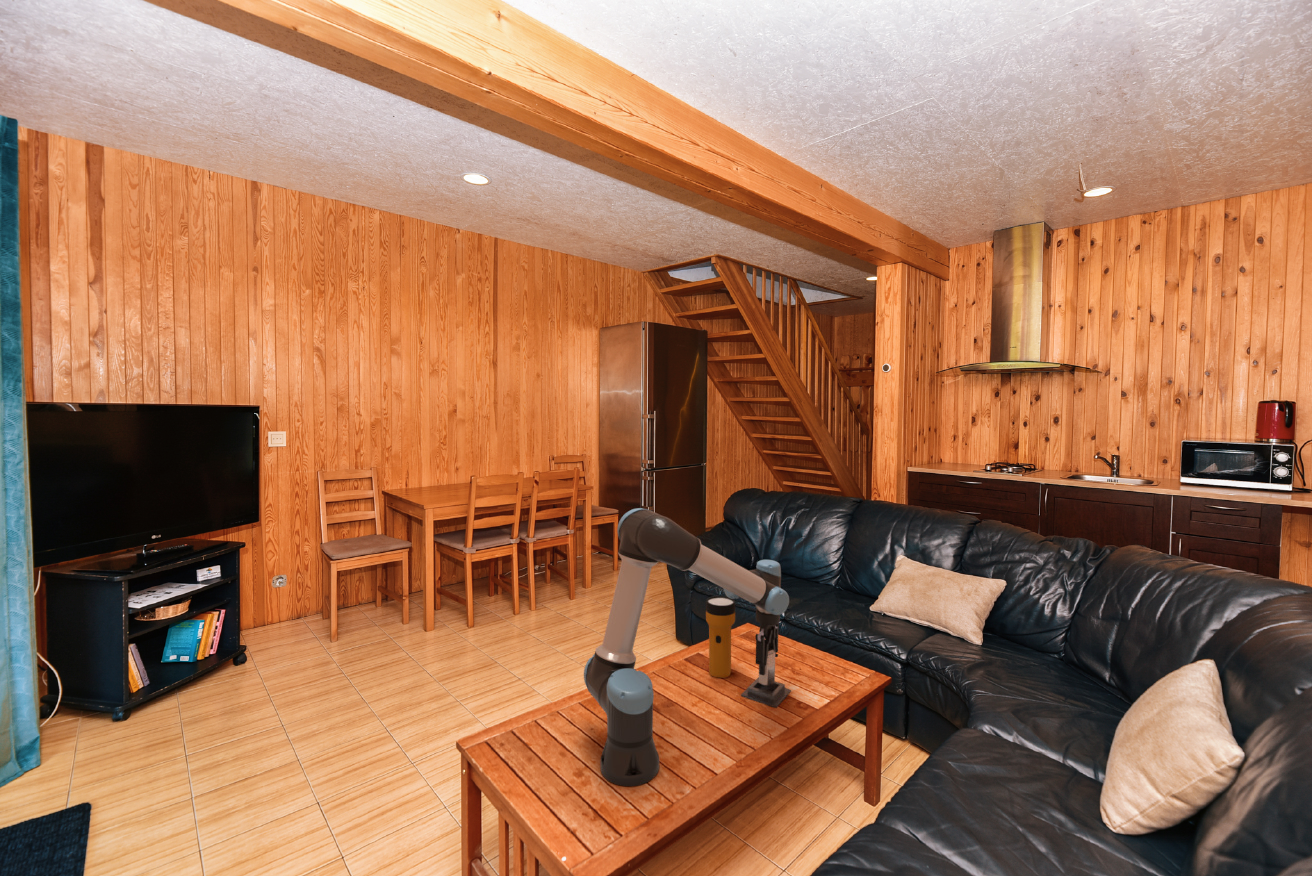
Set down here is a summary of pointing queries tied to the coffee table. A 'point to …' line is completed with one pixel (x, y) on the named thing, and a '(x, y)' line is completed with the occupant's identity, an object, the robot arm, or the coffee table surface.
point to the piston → (771, 667)
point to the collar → (766, 693)
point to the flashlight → (720, 634)
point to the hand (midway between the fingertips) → (766, 679)
